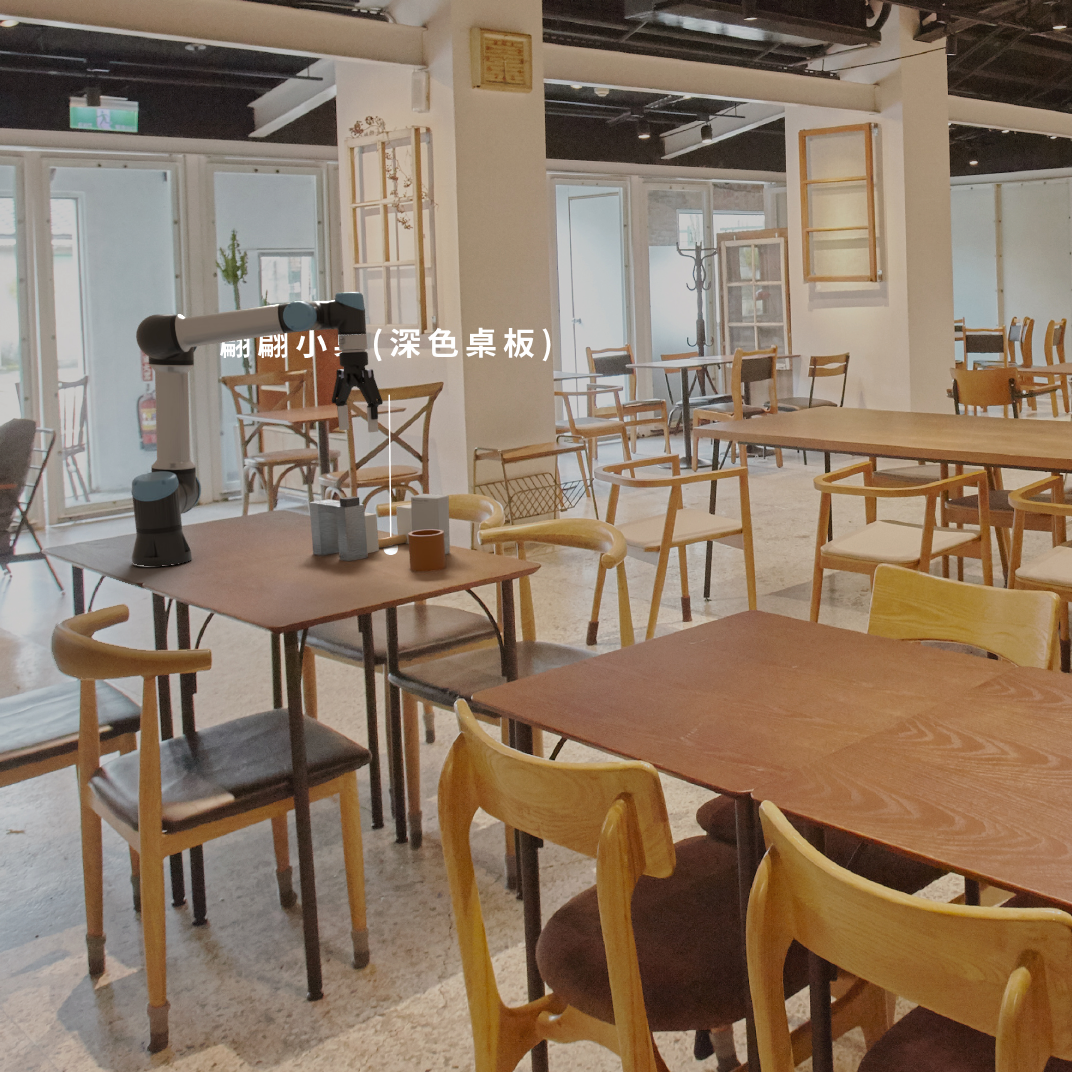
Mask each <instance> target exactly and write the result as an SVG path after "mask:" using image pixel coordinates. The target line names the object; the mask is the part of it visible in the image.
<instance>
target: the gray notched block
mask: <svg viewBox="0 0 1072 1072" xmlns="http://www.w3.org/2000/svg"><path fill="white" fill-rule="evenodd" d="M365 512H366V511H365V504H362V503H360V497H359V496H347V497H346V496H345V497H339V500H335V499H329V498H327V499H322V500H317V501H316V500H315V501H310V502H309V516H310V528H311V529H310V530H311V541H312V554H313V555H315V556H327V555H332V554H338V555H339V560H340V561H345V562H352V561H357V560H362V559H367V558H369V557H368V553H367V542H366V527H365Z"/></svg>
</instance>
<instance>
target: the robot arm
mask: <svg viewBox="0 0 1072 1072" xmlns="http://www.w3.org/2000/svg"><path fill="white" fill-rule="evenodd" d="M334 297H335V298H334V300H333V299H332V300H321V301H320V300H315V301H311V300H306V301H305V300H294V301H291V302H284V303H279V304H272V305H264V306H257V307H250V308H243V309H235V310H228V311H222V312H215V313H209V314H203V315H194V316H183V315H182V314H175V313H166V314H165V313H164V314H153V315H149V316H147V317H145V318H144V319H143V320H142V321H141V322H140V323H139V324H138V327H137V329H136V336H135V337H136V343H137V346H138V347H139V349H140V350H141V352H142V353H143V354H145V355H146V356H147V357H148V366H149V367H150V368H152V370H153V371H154V377H155V378H154V383H155V385H154V386H155V387H154V389H155V390H154V391H155V428H156V429H155V430H156V432H155V434H156V460H155V462H153V464H151V466H150V467H151V470H150V471H151V472H147V473H143V474H140V475H137V476H136V477H134V478H133V479H132V482H131V496H132V505H133V513H134V515H133V516H134V521H135V531H136V537H135V542H134V546H133V550H132V555H131V560H132V562H133V563H134V564H137V565H144V566H162V565H171V564H178V563H182V564H185V563H184V562H186V563H189V562H191V561H192V560H193V557H192V551H191V548H190V546H189V545H190V544H188V540H187V539H186V536H185V534H184V532H183V523H182V514H186V513H188V512H189V511H190V510H192V509H193V508H194V507H195V506H196V505H197V504H198V502H199V500H200V499H201V498H200V497H201V494H202V486H201V482H200V479H198V477H197V469H196V468H197V467H196V464H194V462H192V461H191V459H190V458H191V456H190V454H191V452H190V451H191V450H190V447H191V446H190V406H189V404H190V399H189V397H190V396H189V395H190V393H189V392H190V391H189V371H190V370H191V369H192V368H193V367H194V366H195V362H194V361H195V356H194V353H195V351H196V350H197V348H198V347H201V346H202V347H203V346H209V345H215V344H223V343H228V342H234V341H242V340H248V339H255V338H256V339H257V338H264V337H269V336H276V335H283V334H292V333H298V332H300V333H301V332H309V331H324V330H337V337H338V342H337V343H338V350H339V351H341V352H340V353H338V355H339V365H340V367H343V369H336V371H335V372H336V374H335V375H336V376H335V377H336V379H335V383H334V388H333V393H332V397H331V403H332V404H335V406H336V407H337V417H338V418H337V419H338V430H339V431H347V430H350V423H349V410H348V409H349V407H348V406H349V405H348V403H347V401H348V399H349V397H350V394H351V392H352V389H353V388H354V387H355V388H357V389H359V391H360V393H361V394H362V396H363V398H364V400H365V402H366V404H367V406H366V415H367V418H366V419H367V433H377V432H379V422H378V421H379V413H378V412H379V411H378V408H379V406H381V405H383V398H382V396H381V393H380V390H379V387H378V385H377V382H376V379H375V374H374V369H372V368H371V369H366V366H368V365H369V353H368V352H367V351H366V350H367V349H368V337H367V326H366V325H367V324H366V308H365V303H364V302H365V300H364V295H363V294H362V292H359V291H349V292H348V291H346V292H336V294H335V295H334ZM190 560H191V561H190ZM188 561H189V562H188ZM133 563H132V564H133ZM178 565H179V564H178Z"/></svg>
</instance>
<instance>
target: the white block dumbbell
mask: <svg viewBox="0 0 1072 1072" xmlns="http://www.w3.org/2000/svg"><path fill="white" fill-rule="evenodd" d="M395 507H396V508H395V509H396V525H397V535H393V536H389V537H388V536H387V537H382V538H379V534H378V533H379V532H378V531H379V530H378V519H377V518H378V517H377V516H378V515H377V513H372V512H366V511H364V512H365V527H366V542H367V554H369V553H375V552H379V551H380V549H381V548H386V547H391V546H396V545H403V544H408V545H409V539H408V533H409V532H412V512H411V503H409V504H402V505H398V506H395Z"/></svg>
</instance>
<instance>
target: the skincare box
mask: <svg viewBox="0 0 1072 1072" xmlns="http://www.w3.org/2000/svg"><path fill="white" fill-rule="evenodd" d="M449 496H450V495H445V494H436V493H435V494H434V493H432V494H431V493H420V494H416V495H412V496H410V502H411V503H410V504H411V512H412V531H417V530H426V529H436V530H442V531H444V544H445V556H446V555H448V554H450V553H451V552H450V551H451V546H450V543H451V542H450V541H451V540H450V538H451V537H450V506H449V505H450V504H449V502H450V501H449V500H450V497H449Z"/></svg>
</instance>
